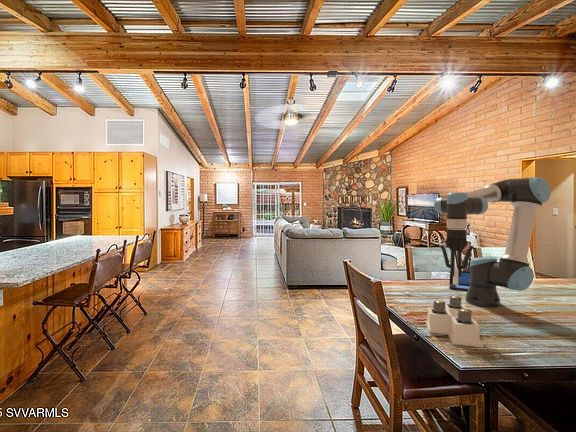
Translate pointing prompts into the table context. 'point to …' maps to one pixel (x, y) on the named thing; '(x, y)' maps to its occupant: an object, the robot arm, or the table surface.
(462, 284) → the handheld game console
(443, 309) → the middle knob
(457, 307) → the knob
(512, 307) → the table surface
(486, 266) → the robot arm
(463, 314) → the knob
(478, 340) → the knob panel
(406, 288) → the table surface
